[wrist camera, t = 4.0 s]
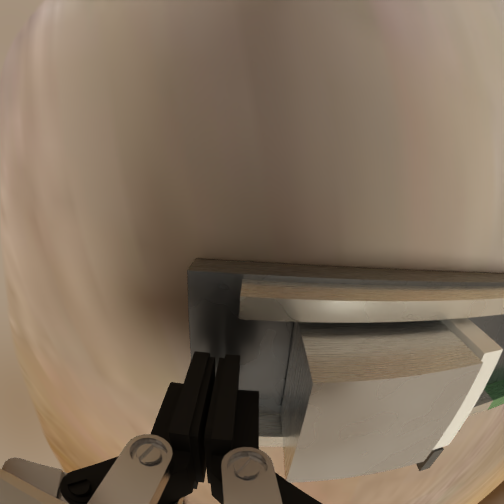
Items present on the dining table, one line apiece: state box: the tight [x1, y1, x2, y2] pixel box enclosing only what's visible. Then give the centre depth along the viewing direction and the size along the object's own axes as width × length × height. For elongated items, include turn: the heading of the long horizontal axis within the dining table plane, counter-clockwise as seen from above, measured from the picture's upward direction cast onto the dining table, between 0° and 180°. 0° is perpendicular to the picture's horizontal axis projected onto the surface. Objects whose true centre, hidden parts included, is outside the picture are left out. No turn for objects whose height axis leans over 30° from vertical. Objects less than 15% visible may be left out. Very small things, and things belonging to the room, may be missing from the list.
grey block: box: [281, 320, 483, 483], centre depth 9 cm, size 5×6×4 cm
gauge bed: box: [187, 258, 504, 447], centre depth 9 cm, size 8×28×8 cm, turn 87°
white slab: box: [417, 318, 503, 471], centre depth 10 cm, size 7×1×4 cm, turn 177°
